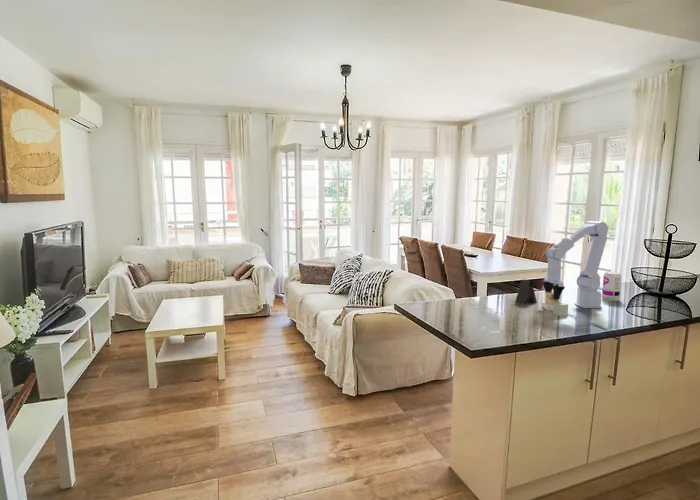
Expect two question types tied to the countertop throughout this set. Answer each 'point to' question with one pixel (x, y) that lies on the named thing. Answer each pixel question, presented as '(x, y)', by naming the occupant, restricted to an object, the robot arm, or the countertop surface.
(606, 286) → the supplement can
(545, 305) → the pedestal block
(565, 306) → the sage block
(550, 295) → the beech block
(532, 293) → the door stopper
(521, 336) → the countertop surface
